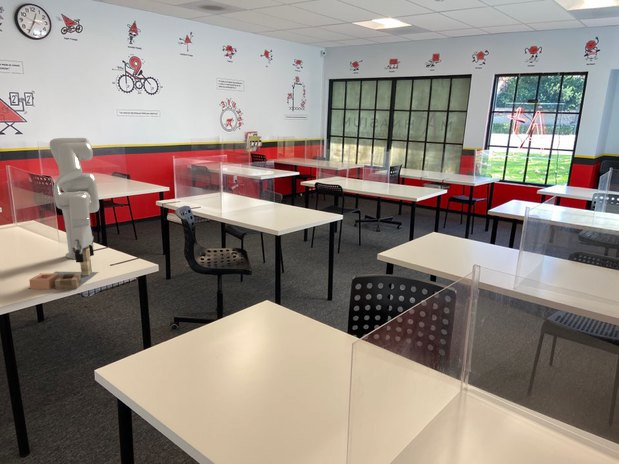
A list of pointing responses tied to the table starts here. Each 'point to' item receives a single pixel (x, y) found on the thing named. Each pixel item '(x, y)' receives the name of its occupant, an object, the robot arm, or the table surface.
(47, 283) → the salmon pink square box
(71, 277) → the brown square ring
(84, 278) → the charcoal mat
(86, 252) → the beige wooden post
